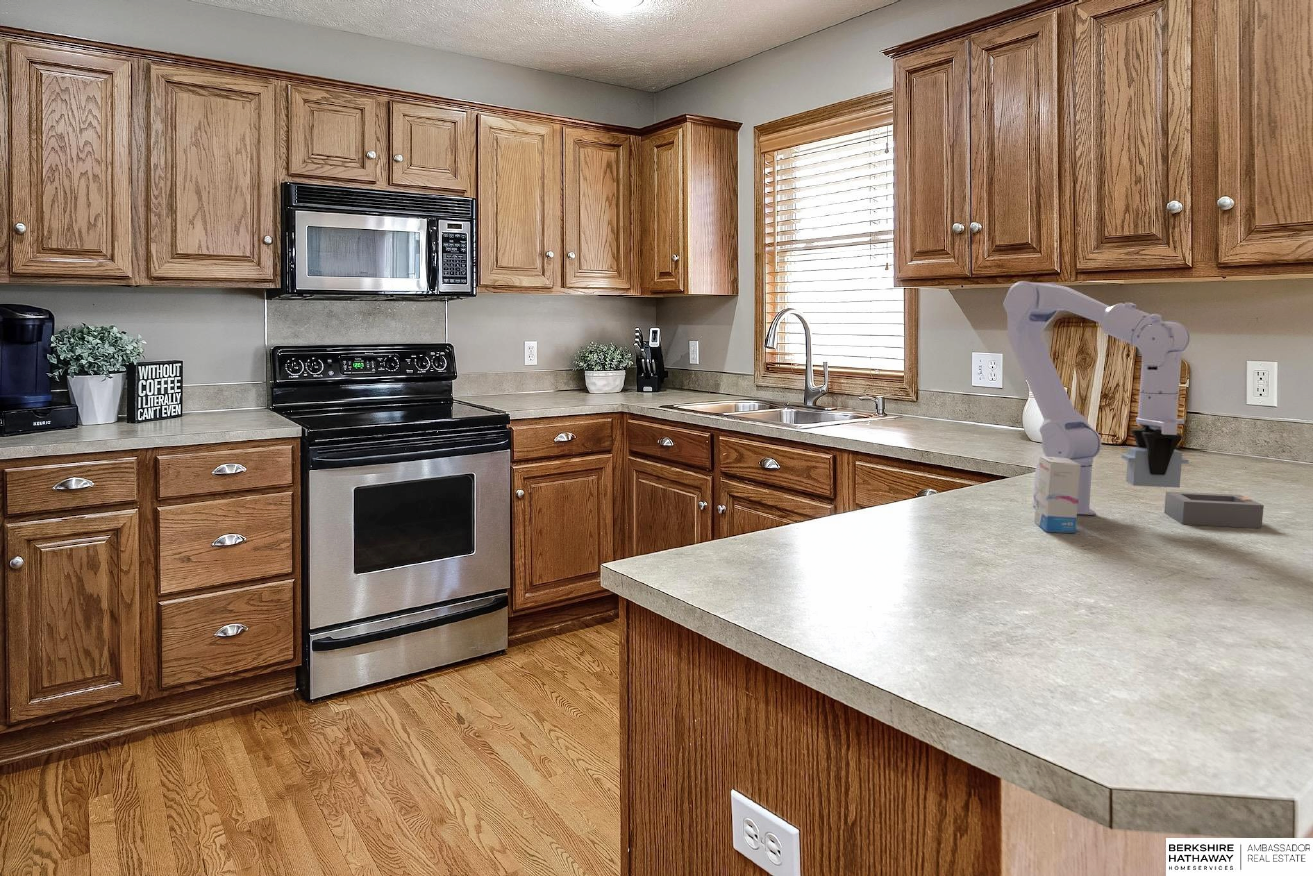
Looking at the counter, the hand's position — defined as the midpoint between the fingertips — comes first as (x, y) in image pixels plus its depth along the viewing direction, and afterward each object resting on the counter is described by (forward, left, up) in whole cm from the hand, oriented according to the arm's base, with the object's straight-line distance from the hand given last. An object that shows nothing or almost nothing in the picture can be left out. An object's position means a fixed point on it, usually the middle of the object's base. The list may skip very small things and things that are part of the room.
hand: (1152, 472), depth 145 cm
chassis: (+12, +8, -9) cm, 17 cm away
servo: (0, 0, -2) cm, 2 cm away
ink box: (-16, -6, -10) cm, 20 cm away
